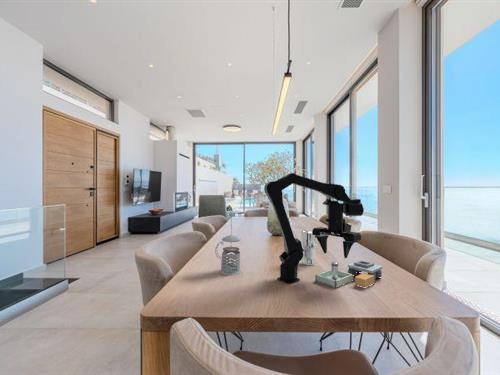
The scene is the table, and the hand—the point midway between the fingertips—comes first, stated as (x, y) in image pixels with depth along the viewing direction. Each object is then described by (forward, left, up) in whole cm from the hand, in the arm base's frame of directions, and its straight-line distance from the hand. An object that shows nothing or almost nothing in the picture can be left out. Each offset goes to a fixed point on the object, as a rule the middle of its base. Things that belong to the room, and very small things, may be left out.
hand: (335, 255), depth 106 cm
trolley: (+12, -6, -9) cm, 16 cm away
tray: (-2, -1, -9) cm, 10 cm away
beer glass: (+9, +20, -10) cm, 23 cm away
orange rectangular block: (+3, -11, -10) cm, 15 cm away
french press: (-27, +34, -10) cm, 44 cm away
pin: (-2, -1, -9) cm, 9 cm away
